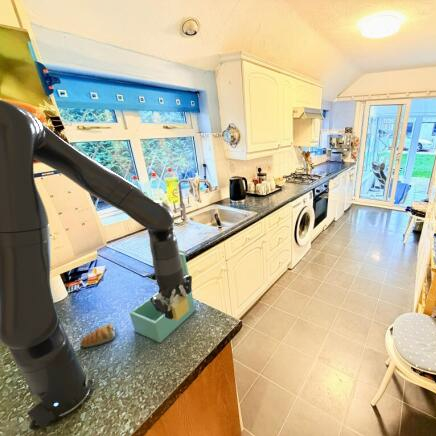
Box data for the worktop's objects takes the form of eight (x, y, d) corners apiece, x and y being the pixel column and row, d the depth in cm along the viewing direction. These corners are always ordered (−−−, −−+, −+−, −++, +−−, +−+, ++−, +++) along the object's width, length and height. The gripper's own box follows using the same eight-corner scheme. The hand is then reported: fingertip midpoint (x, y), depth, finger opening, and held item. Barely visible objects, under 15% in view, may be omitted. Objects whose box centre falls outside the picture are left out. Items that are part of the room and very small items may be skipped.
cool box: (160, 342, 81) (154, 323, 78) (135, 331, 86) (129, 312, 82) (195, 310, 96) (192, 293, 92) (172, 302, 100) (168, 285, 97)
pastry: (81, 353, 77) (78, 344, 76) (82, 339, 82) (78, 331, 81) (116, 338, 83) (113, 330, 81) (115, 326, 88) (112, 318, 86)
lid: (182, 254, 85) (193, 248, 89) (157, 248, 89) (168, 242, 94) (191, 292, 92) (200, 285, 96) (167, 284, 96) (177, 277, 101)
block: (177, 320, 73) (174, 308, 71) (165, 316, 75) (162, 303, 73) (189, 310, 78) (187, 298, 76) (178, 305, 79) (175, 293, 78)
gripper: (178, 254, 78) (185, 295, 84) (137, 277, 65) (149, 324, 71) (195, 258, 75) (202, 301, 81) (156, 284, 63) (167, 332, 69)
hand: (177, 312), depth 76 cm, fingers closed on block, 5 cm apart
